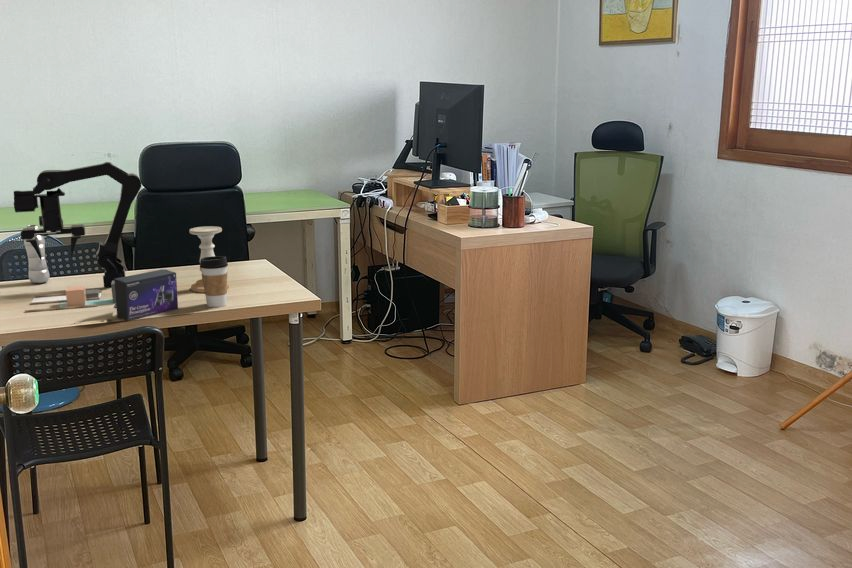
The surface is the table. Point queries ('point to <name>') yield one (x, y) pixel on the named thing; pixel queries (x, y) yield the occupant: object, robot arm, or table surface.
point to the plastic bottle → (37, 260)
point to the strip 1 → (89, 294)
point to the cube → (76, 296)
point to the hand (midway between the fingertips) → (56, 258)
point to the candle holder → (205, 249)
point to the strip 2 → (100, 302)
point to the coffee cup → (215, 280)
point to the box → (146, 294)
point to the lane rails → (59, 302)
